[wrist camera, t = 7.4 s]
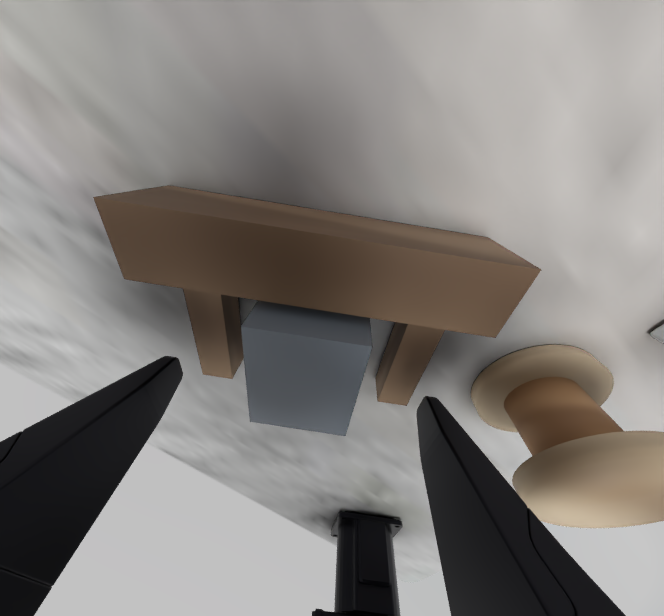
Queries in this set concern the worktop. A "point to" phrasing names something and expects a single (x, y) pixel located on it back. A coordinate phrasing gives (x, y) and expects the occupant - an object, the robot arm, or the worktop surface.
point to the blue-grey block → (304, 366)
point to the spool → (572, 440)
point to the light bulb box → (658, 334)
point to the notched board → (313, 272)
